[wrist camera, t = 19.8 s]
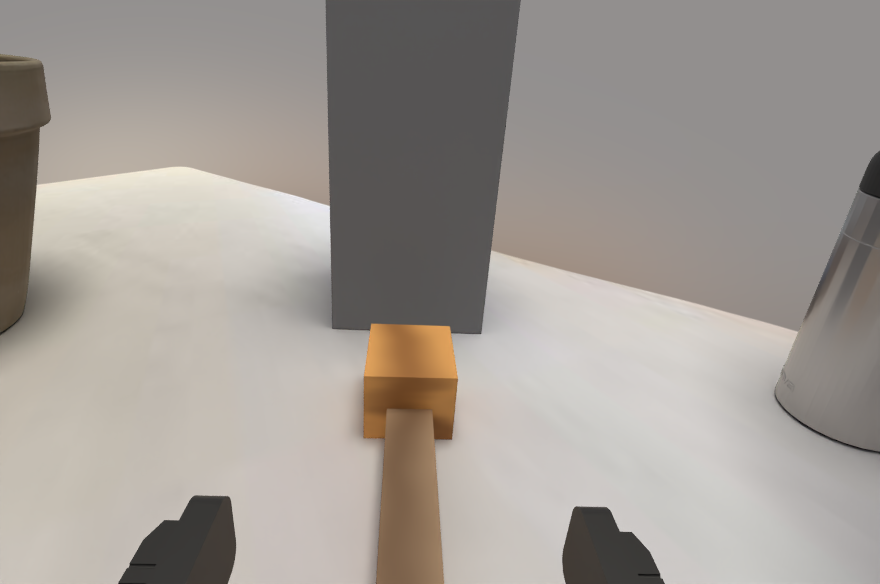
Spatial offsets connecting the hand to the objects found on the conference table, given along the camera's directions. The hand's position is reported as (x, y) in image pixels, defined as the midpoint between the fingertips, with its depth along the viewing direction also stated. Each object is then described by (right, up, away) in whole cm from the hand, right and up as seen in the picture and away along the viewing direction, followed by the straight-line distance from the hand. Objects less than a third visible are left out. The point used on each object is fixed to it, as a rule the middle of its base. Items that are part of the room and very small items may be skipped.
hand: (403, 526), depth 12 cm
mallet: (-1, -6, +19) cm, 20 cm away
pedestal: (-3, +5, +42) cm, 43 cm away
